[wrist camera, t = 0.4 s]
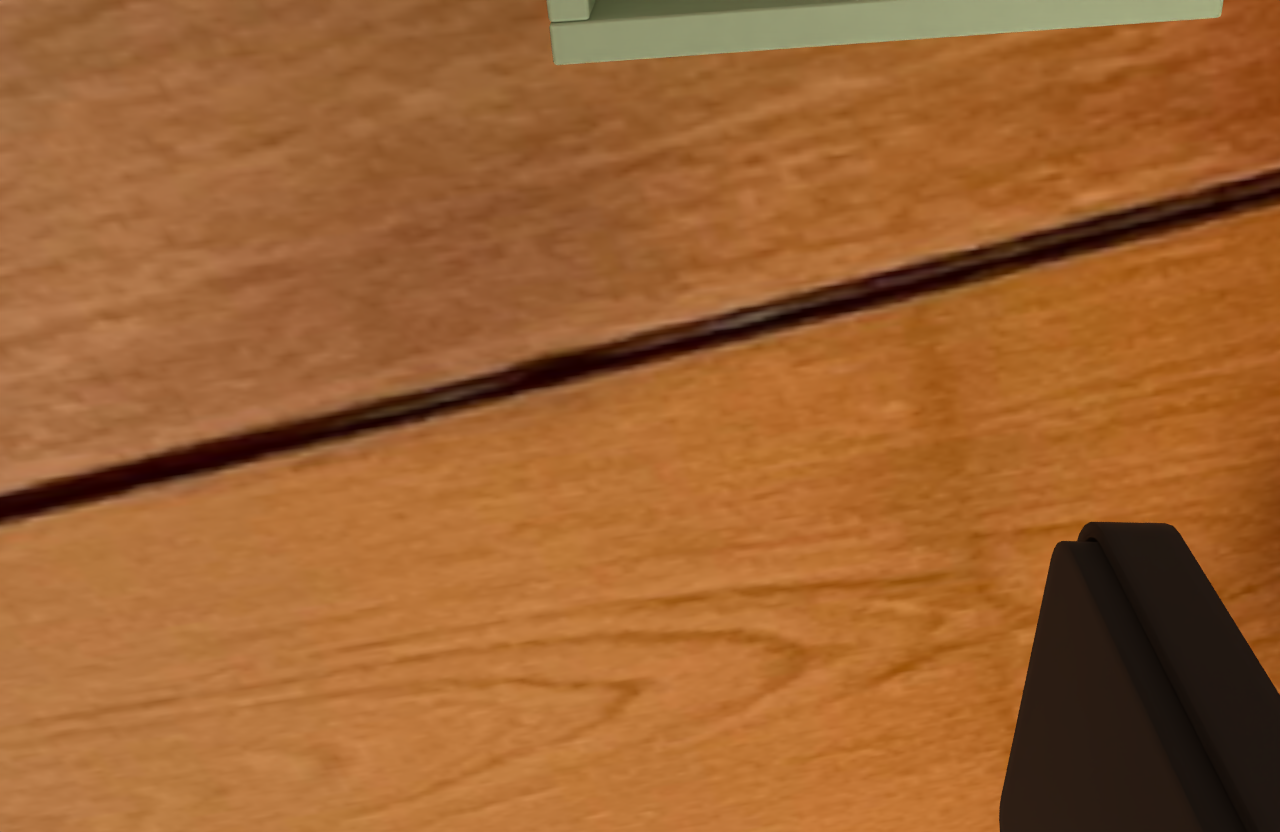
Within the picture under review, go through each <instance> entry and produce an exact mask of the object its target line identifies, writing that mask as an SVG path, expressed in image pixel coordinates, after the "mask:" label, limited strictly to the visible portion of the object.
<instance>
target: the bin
mask: <svg viewBox="0 0 1280 832" xmlns="http://www.w3.org/2000/svg"><path fill="white" fill-rule="evenodd" d="M1222 6H1223V0H547V9H548V18H549V20H550V21H551V24H550V36H551V45H552V54H553V62H554V64H556V65H566V64H580V63H594V62H608V61H622V60H636V59H650V58H664V57H677V56H691V55H705V54H719V53H733V52H747V51H761V50H775V49H789V48H803V47H817V46H831V45H845V44H859V43H873V42H887V41H901V40H915V39H928V38H942V37H956V36H970V35H984V34H998V33H1012V32H1026V31H1040V30H1054V29H1068V28H1082V27H1096V26H1110V25H1124V24H1138V23H1152V22H1165V21H1179V20H1193V19H1207V18H1217V17H1220V16H1221V13H1222Z"/></svg>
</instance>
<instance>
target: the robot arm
mask: <svg viewBox="0 0 1280 832" xmlns="http://www.w3.org/2000/svg"><path fill="white" fill-rule="evenodd" d="M999 823H1000V832H1280V695H1279V693H1278V692H1277V690H1276V688H1275V687H1274V685H1273V684H1272V682H1271V680H1270V679H1269V677H1268V675H1267V674H1266V672H1265V671H1264V669H1263V667H1262V666H1261V664H1260V663H1259V661H1258V659H1257V658H1256V656H1255V654H1254V653H1253V651H1252V650H1251V648H1250V646H1249V645H1248V643H1247V641H1246V640H1245V638H1244V637H1243V635H1242V633H1241V632H1240V630H1239V629H1238V627H1237V625H1236V624H1235V622H1234V620H1233V619H1232V617H1231V616H1230V614H1229V612H1228V611H1227V609H1226V608H1225V606H1224V604H1223V603H1222V601H1221V599H1220V598H1219V596H1218V595H1217V593H1216V591H1215V590H1214V588H1213V586H1212V585H1211V583H1210V582H1209V580H1208V578H1207V577H1206V575H1205V574H1204V572H1203V570H1202V569H1201V567H1200V565H1199V564H1198V562H1197V561H1196V559H1195V557H1194V556H1193V554H1192V553H1191V551H1190V549H1189V548H1188V546H1187V544H1186V543H1185V541H1184V540H1183V538H1182V536H1181V535H1180V533H1179V532H1178V531H1177V530H1176V529H1175V528H1174V527H1173V526H1172V525H1169V524H1166V523H1122V522H1090V523H1088V524H1086V525H1085V526H1084V527H1083V529H1082V530H1081V532H1080V534H1079V537H1078V540H1077V541H1061V542H1059V543H1057V545H1056V547H1055V548H1054V551H1053V554H1052V557H1051V562H1050V566H1049V571H1048V576H1047V581H1046V585H1045V590H1044V595H1043V600H1042V604H1041V609H1040V614H1039V619H1038V624H1037V628H1036V633H1035V638H1034V643H1033V647H1032V652H1031V657H1030V662H1029V667H1028V671H1027V676H1026V681H1025V686H1024V690H1023V695H1022V700H1021V705H1020V710H1019V714H1018V719H1017V724H1016V729H1015V733H1014V738H1013V743H1012V748H1011V753H1010V757H1009V762H1008V767H1007V772H1006V776H1005V781H1004V786H1003V791H1002V795H1001V802H1000V813H999Z"/></svg>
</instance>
